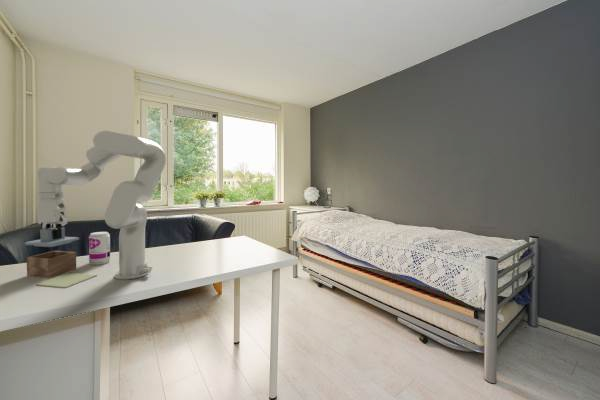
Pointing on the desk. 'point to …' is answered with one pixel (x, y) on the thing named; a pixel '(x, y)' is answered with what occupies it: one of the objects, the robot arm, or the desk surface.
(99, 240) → the supplement can
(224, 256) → the desk surface
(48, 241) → the lid
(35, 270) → the walnut box
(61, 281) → the felt mat
